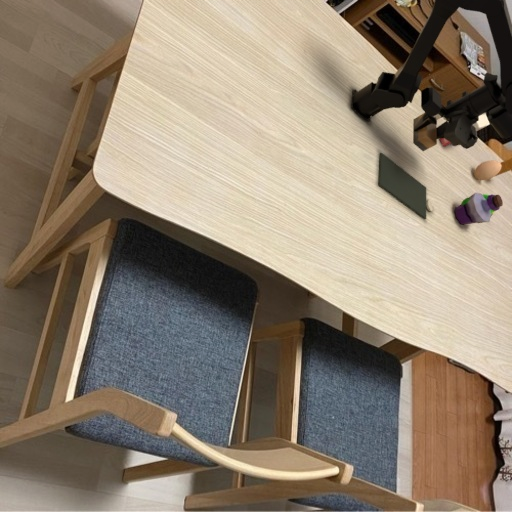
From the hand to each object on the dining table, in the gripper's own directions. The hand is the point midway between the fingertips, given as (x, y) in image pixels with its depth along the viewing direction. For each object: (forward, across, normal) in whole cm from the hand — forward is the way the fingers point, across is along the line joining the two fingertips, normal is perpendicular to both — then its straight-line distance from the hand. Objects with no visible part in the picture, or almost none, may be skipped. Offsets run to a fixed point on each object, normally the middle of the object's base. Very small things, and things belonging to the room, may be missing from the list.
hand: (419, 134), depth 142 cm
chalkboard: (+7, +3, -11) cm, 14 cm away
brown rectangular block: (0, 0, 0) cm, 0 cm away
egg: (+7, +37, +14) cm, 40 cm away
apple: (+7, +38, +2) cm, 39 cm away
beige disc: (+7, +13, -11) cm, 19 cm away
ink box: (+7, +22, +19) cm, 30 cm away
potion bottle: (+7, +28, -6) cm, 30 cm away
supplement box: (+7, +43, +18) cm, 47 cm away
